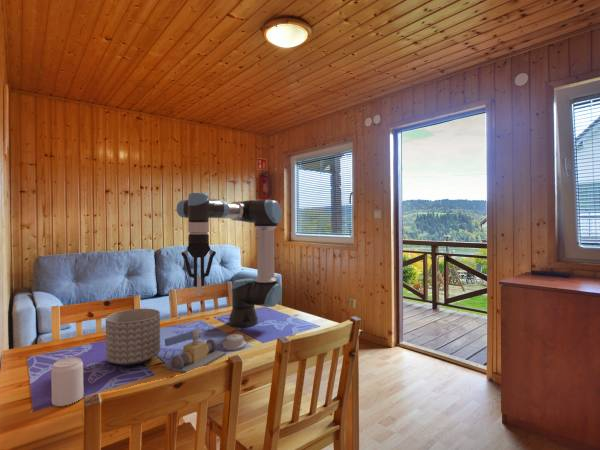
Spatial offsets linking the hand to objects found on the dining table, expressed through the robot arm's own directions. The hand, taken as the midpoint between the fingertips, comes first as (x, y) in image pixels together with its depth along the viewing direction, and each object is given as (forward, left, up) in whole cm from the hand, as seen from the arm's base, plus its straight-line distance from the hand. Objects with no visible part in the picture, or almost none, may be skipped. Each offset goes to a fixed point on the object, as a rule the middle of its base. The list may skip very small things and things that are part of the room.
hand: (199, 294), depth 134 cm
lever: (+4, -4, -17) cm, 18 cm away
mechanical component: (-20, +2, -27) cm, 34 cm away
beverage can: (+39, -17, -27) cm, 50 cm away
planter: (+10, -24, -27) cm, 37 cm away
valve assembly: (-1, -3, -26) cm, 27 cm away
